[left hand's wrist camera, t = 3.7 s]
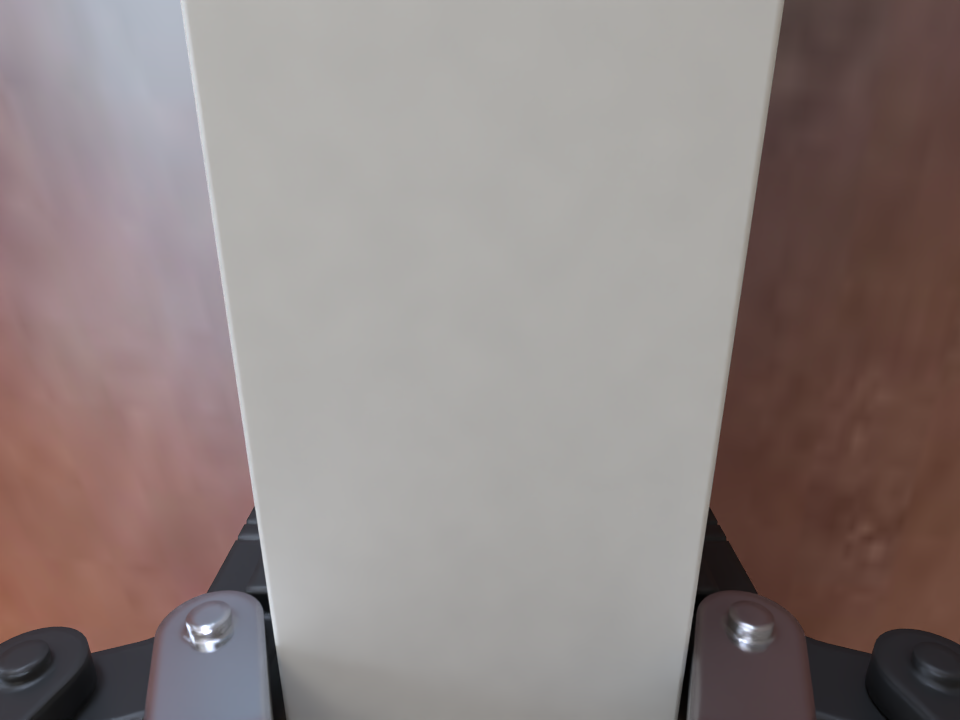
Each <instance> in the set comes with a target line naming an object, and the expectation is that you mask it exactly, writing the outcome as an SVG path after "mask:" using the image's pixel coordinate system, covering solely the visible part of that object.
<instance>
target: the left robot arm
mask: <svg viewBox="0 0 960 720" xmlns="http://www.w3.org/2000/svg"><path fill="white" fill-rule="evenodd" d="M0 720H286V713H285V706H284V700H283V693H282V686H281V679H280V673H279V666H278V659H277V652H276V645H275V639H274V632H273V625H272V618H271V612H270V605H269V598H268V591H267V585H266V578H265V571H264V564H263V557H262V551H261V544H260V537H259V530H258V524H257V517H256V510H255V506H254V508H253V510H252V512H251V514H250V515H249V517H248V519H247V524H245V525H244V526H243V528H242V530H241V532H240V534H239V536H238V540H236V541H235V543H234V545H233V546H232V548H231V550H230V552H229V554H228V556H227V557H226V559H225V561H224V563H223V565H222V566H221V568H220V570H219V572H218V574H217V576H216V577H215V579H214V581H213V583H212V585H211V587H210V588H209V590H208V592H207V593H206V594H203V595H200V596H197V597H195V598H192V599H190V600H188V601H186V602H184V603H183V604H181V605H180V606H178V607H177V608H175V609H174V610H173V611H172V612H170V613H169V614H168V615H167V616H166V617H165V618H164V620H163V621H162V622H161V624H160V625H159V627H158V629H157V631H156V634H155V637H153V638H150V639H147V640H144V641H140V642H137V643H132V644H128V645H124V646H120V647H116V648H111V649H107V650H103V651H99V652H94V653H91V652H90V648H89V645H88V642H87V639H86V637H85V636H84V635H83V634H82V633H81V632H79V631H77V630H75V629H72V628H67V627H48V628H41V629H37V630H33V631H29V632H26V633H23V634H21V635H18V636H16V637H13V638H11V639H9V640H7V641H5V642H3V643H1V644H0ZM677 720H960V645H959V644H957V643H955V642H953V641H951V640H949V639H946V638H944V637H942V636H939V635H936V634H933V633H930V632H925V631H921V630H914V629H895V630H891V631H888V632H885V633H883V634H882V635H880V636H879V637H878V639H877V640H876V642H875V645H874V648H873V652H872V654H870V653H866V652H861V651H857V650H853V649H849V648H845V647H840V646H836V645H832V644H828V643H824V642H821V641H817V640H815V639H812V638H809V637H807V636H805V634H804V631H803V629H802V627H801V625H800V624H799V622H798V621H797V620H796V618H795V617H794V616H793V615H792V614H791V613H790V612H788V611H787V610H786V609H785V608H783V607H782V606H780V605H779V604H777V603H776V602H774V601H772V600H770V599H768V598H765V597H763V596H760V595H758V593H757V592H756V590H755V588H754V586H753V584H752V583H751V581H750V579H749V577H748V575H747V574H746V572H745V570H744V568H743V566H742V565H741V563H740V561H739V559H738V558H737V556H736V554H735V552H734V550H733V549H732V547H731V545H730V543H729V541H726V536H725V534H724V532H723V531H722V529H721V527H720V525H718V524H717V520H716V518H715V516H714V514H713V513H712V511H711V509H710V507H709V511H708V518H707V524H706V531H705V538H704V544H703V551H702V558H701V565H700V571H699V578H698V585H697V591H696V598H695V605H694V612H693V618H692V625H691V632H690V638H689V645H688V652H687V659H686V665H685V672H684V679H683V685H682V692H681V699H680V706H679V712H678V719H677Z"/></svg>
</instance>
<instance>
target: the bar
mask: <svg viewBox="0 0 960 720" xmlns="http://www.w3.org/2000/svg"><path fill="white" fill-rule="evenodd" d="M784 1H785V0H180V2H181V9H182V16H183V22H184V29H185V36H186V43H187V50H188V56H189V63H190V70H191V77H192V83H193V90H194V97H195V104H196V111H197V117H198V124H199V131H200V138H201V144H202V151H203V158H204V165H205V171H206V178H207V185H208V192H209V199H210V205H211V212H212V219H213V226H214V232H215V239H216V246H217V253H218V260H219V266H220V273H221V280H222V287H223V293H224V300H225V307H226V314H227V320H228V327H229V334H230V341H231V348H232V354H233V361H234V368H235V375H236V381H237V388H238V395H239V402H240V408H241V415H242V422H243V429H244V436H245V442H246V449H247V456H248V463H249V469H250V476H251V483H252V490H253V497H254V503H255V510H256V517H257V524H258V530H259V537H260V544H261V551H262V557H263V564H264V571H265V578H266V585H267V591H268V598H269V605H270V612H271V618H272V625H273V632H274V639H275V645H276V652H277V659H278V666H279V673H280V679H281V686H282V693H283V700H284V706H285V713H286V720H677V719H678V712H679V706H680V699H681V692H682V685H683V679H684V672H685V665H686V659H687V652H688V645H689V638H690V632H691V625H692V618H693V612H694V605H695V598H696V591H697V585H698V578H699V571H700V565H701V558H702V551H703V544H704V538H705V531H706V524H707V518H708V511H709V504H710V497H711V491H712V484H713V477H714V471H715V464H716V457H717V450H718V444H719V437H720V430H721V424H722V417H723V410H724V403H725V397H726V390H727V383H728V377H729V370H730V363H731V356H732V350H733V343H734V336H735V330H736V323H737V316H738V309H739V303H740V296H741V289H742V283H743V276H744V269H745V262H746V256H747V249H748V242H749V236H750V229H751V222H752V215H753V209H754V202H755V195H756V189H757V182H758V175H759V168H760V162H761V155H762V148H763V142H764V135H765V128H766V121H767V115H768V108H769V101H770V95H771V88H772V81H773V74H774V68H775V61H776V54H777V48H778V41H779V34H780V27H781V21H782V14H783V7H784Z"/></svg>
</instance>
